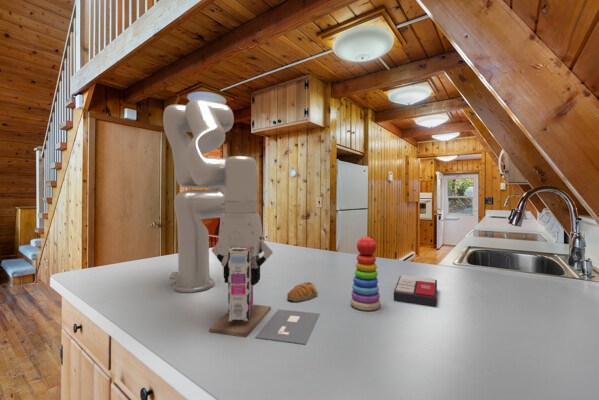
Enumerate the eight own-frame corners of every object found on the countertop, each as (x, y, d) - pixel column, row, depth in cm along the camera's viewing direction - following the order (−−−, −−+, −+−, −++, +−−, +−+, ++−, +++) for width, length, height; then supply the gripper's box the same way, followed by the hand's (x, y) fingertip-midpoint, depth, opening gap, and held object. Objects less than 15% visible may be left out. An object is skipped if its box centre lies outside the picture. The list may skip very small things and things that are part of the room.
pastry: (298, 305, 80) (298, 291, 80) (281, 300, 84) (280, 287, 84) (319, 296, 87) (319, 283, 87) (302, 291, 91) (302, 279, 91)
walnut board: (209, 331, 65) (209, 328, 64) (239, 306, 79) (239, 303, 79) (246, 336, 62) (246, 333, 62) (270, 309, 77) (270, 306, 77)
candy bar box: (250, 322, 65) (249, 249, 65) (227, 322, 65) (226, 249, 64) (254, 302, 76) (253, 240, 76) (235, 303, 76) (234, 241, 76)
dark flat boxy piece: (393, 289, 82) (399, 273, 95) (393, 304, 82) (400, 285, 96) (436, 295, 77) (437, 277, 91) (436, 311, 77) (436, 290, 91)
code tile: (255, 338, 62) (255, 337, 62) (278, 310, 76) (278, 309, 76) (305, 344, 59) (305, 343, 59) (319, 314, 73) (319, 313, 73)
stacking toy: (347, 309, 77) (347, 238, 76) (353, 298, 84) (353, 234, 83) (378, 313, 74) (378, 239, 73) (381, 302, 81) (381, 235, 81)
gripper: (200, 209, 68) (201, 284, 69) (269, 210, 64) (269, 290, 65) (217, 207, 76) (218, 275, 76) (280, 208, 71) (280, 280, 72)
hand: (241, 281), depth 70 cm, fingers closed on candy bar box, 6 cm apart
